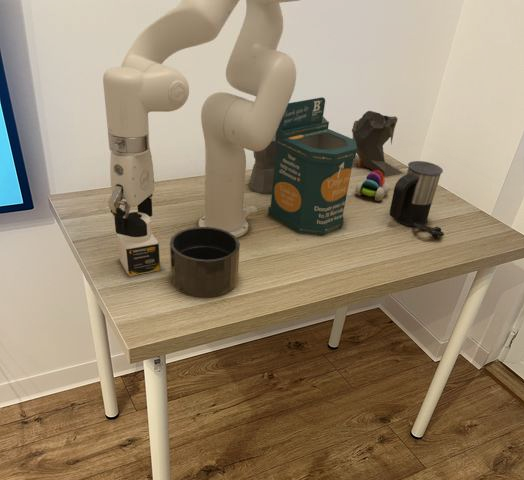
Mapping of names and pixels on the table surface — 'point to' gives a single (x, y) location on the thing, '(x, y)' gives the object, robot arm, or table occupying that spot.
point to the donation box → (310, 170)
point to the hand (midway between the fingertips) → (134, 224)
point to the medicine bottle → (139, 246)
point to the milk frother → (416, 196)
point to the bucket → (204, 261)
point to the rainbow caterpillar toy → (373, 186)
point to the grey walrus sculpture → (374, 141)
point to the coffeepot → (264, 169)
